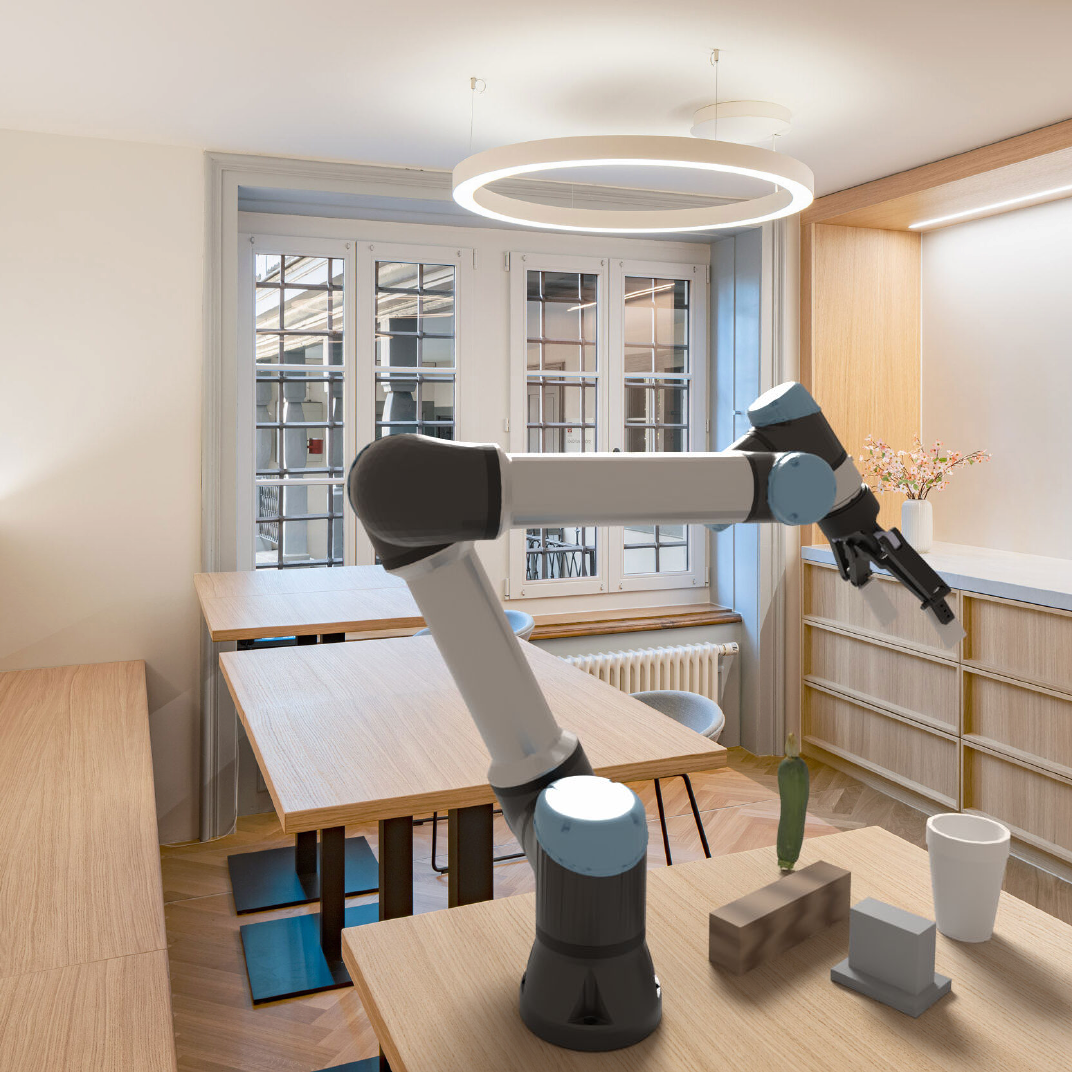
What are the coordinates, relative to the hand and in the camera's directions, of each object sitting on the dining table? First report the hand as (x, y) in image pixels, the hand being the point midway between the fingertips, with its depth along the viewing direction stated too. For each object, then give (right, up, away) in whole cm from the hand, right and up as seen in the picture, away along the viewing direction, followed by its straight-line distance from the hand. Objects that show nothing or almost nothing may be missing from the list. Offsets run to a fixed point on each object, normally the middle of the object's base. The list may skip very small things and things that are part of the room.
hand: (922, 630), depth 123 cm
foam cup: (+4, -37, -4) cm, 37 cm away
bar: (-19, -37, -5) cm, 42 cm away
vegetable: (-13, -35, +13) cm, 40 cm away
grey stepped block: (-10, -38, -16) cm, 42 cm away
